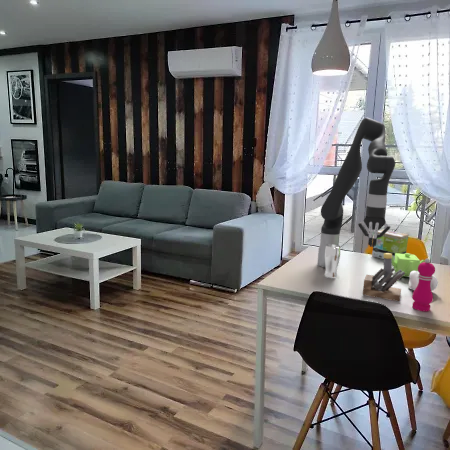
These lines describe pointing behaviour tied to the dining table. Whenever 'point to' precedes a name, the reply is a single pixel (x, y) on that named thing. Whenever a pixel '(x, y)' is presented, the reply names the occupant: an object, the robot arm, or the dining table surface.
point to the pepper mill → (423, 287)
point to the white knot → (415, 280)
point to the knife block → (386, 291)
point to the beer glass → (331, 260)
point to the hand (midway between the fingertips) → (371, 246)
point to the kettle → (406, 263)
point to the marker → (387, 265)
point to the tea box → (390, 244)
